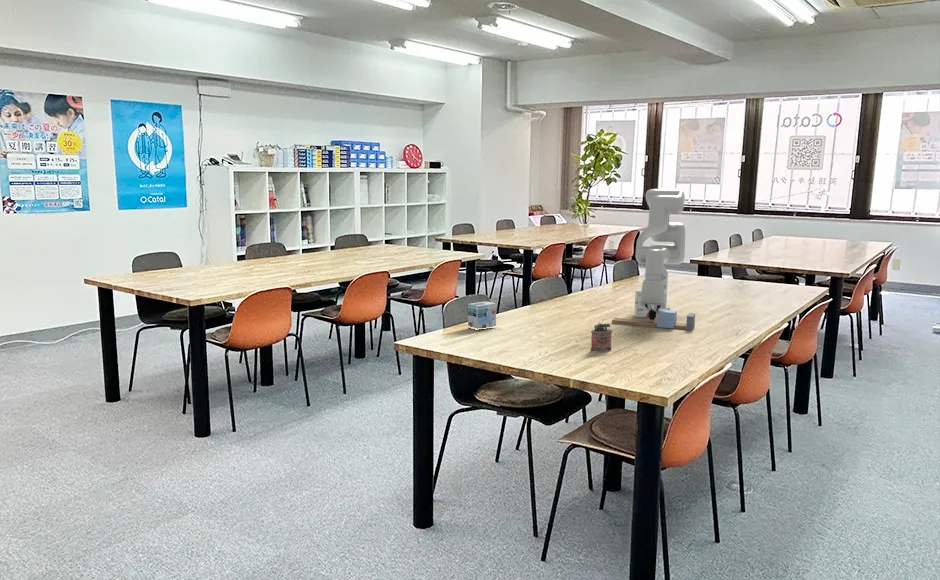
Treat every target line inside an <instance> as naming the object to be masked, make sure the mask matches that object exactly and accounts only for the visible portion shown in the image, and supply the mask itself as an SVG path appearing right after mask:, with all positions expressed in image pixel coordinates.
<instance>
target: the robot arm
mask: <svg viewBox="0 0 940 580" xmlns="http://www.w3.org/2000/svg"><path fill="white" fill-rule="evenodd" d="M685 197H686V196H685V192H684V191H683V190H682V189H681V188H650V189H648V190H647V191H646V192H645V201H646V203H647V206H648V208H649V212H648V224H647V226H646V227H645V228H644V229H643V230H642V231H641V232H640V234H639V236H638V238H637V239H636V244H635V245H636V246H635V259H636V262H637V263H638V264H645V266H644V267H645V271H644V273H645V274H644V279H643V282H642V284H641V285H642V286H641V290H640V291H641V303H640V305H642V306H645V307H646V308H647V309H648V311H649V317H648V318H649V320H650V321H655V319H656V318H657V311H659V310H660V309H665V310H671V308H670V306H669V305H668V303H667V302H668V282H669V281H668V280H669V272H668V270H667V268H666V267H665V266H664V265H680V264H683V263H684V260H685V255H686V254H685V253H686V252H685V251H686V249H685V248H686V228H685V225H684V223H682V222H676V221H675V222H671V221H670V217H671V216H670V215H681V214H682V213H683V211H684V207H685V199H686V198H685ZM650 238H651V240H652V241H654V242H658V243H654V244H651V245H649V246H647V245H646V246H645V245H644V243H645V242H646V240H648V239H650ZM667 243H668V244H667ZM669 243H670V244H669ZM671 243H674V244H671ZM651 304H655V305H654V309H653V310H652V305H651Z"/></svg>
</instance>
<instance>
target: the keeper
mask: <svg viewBox="0 0 940 580" xmlns="http://www.w3.org/2000/svg"><path fill="white" fill-rule="evenodd" d="M677 312H678V310H676V309H668V310H665V309H660V310H657V316H656V318H657V320H656V321H657V327H656V328H660V327H663V328H662V329H672V328H674V324H675V323H677V319H678V318H677V314H678V313H677Z"/></svg>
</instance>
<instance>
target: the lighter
mask: <svg viewBox="0 0 940 580" xmlns="http://www.w3.org/2000/svg"><path fill="white" fill-rule="evenodd" d="M608 328H609V329H608ZM590 332H591V342H590V343H591V346H590V352H593V351H600V352H610V350H611V351H612V333H613V330H612V329H611V323H598V324H595V325H594V329H592V330H591V331H590Z"/></svg>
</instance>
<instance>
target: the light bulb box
mask: <svg viewBox="0 0 940 580" xmlns="http://www.w3.org/2000/svg"><path fill="white" fill-rule="evenodd" d="M468 326H470V327H474V328H477V329H478V328H486V327H493V326H496V327H497V303H496V302H492V301H488V300H487V301H486V300H485V301H480V302H479V301H478V302H472V303H468V304H467V327H468Z"/></svg>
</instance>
